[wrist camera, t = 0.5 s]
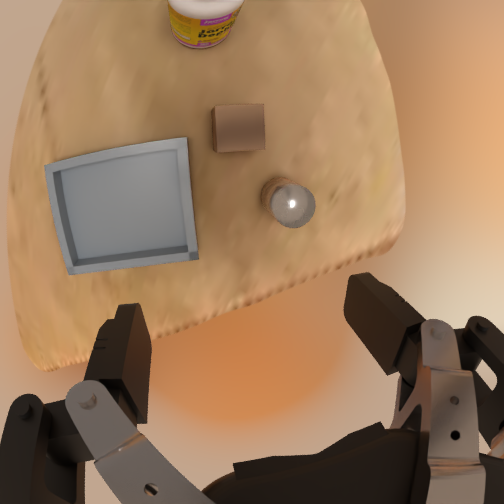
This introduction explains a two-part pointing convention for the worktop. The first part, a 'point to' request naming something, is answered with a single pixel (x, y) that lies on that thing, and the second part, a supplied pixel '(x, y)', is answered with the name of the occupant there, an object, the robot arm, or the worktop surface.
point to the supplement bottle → (202, 20)
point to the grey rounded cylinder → (288, 202)
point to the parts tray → (124, 207)
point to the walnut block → (238, 127)
